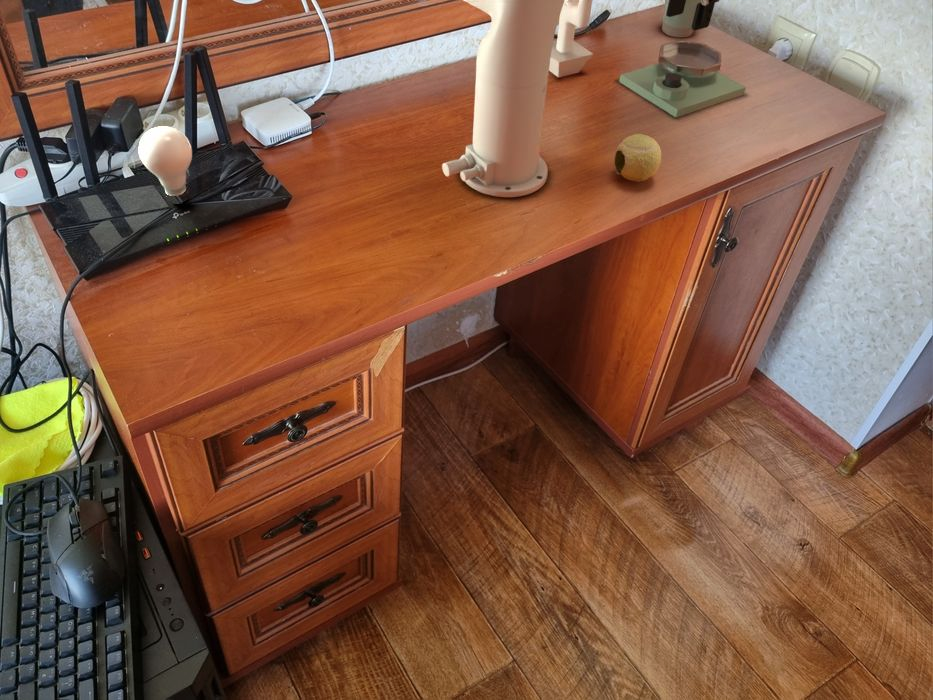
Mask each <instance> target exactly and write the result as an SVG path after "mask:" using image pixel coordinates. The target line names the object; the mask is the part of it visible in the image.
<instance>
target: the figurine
mask: <svg viewBox="0 0 933 700" xmlns="http://www.w3.org/2000/svg"><path fill="white" fill-rule="evenodd" d="M592 5H593V0H565V1H564V4H563V7H562V10H561V13H560V16H559V20H558V23H557V26H556V27H558V29H557V30H558V31H557V39H556V40H553V45H552V51H551V58H550V65H549V73H552V74H553V75H554V76H556V77H557V78H562V77H566V76H570V75H575V74H579V73H580V72H581V70H582V69H583V68H584V66H585V65H586V64H587V63H588V62H589V60H590V59H591V58H592V56H593V55H594V53H593V52H591V51H589V49H586V48H585V46H583V45H581V44H579V43H578V42H577V41H575V40H574V39H575V32H576V27H577V28H578V29H583V28H584V29H585V28H586V27H587V26H588V24H589V22H590V18H591V13H592Z"/></svg>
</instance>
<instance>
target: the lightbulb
mask: <svg viewBox="0 0 933 700" xmlns="http://www.w3.org/2000/svg"><path fill="white" fill-rule="evenodd" d="M138 155H139V159H140V160H141V163H142V164H143V165H144V167H145V168H146V169H147V170H148V171H149V172H150V173H152V174H153V175H154V176H155V177H156V178H157V179H158V181H159V182H160V185H161V186H162V187H163V189H164V191H165V194H167V195H169V196H179V195H182V194H183V193H184V192H185V191H186V189H187V186H186V181H187V171H188V169H189V168H190V165H191V163H192V159H193V149H192V145H191V143H190V140H189V139H188V137H187V136H186V135H185V134H184V133H183V132H181V131H180V130H179V129H177V128H175V127H172V126H168V125H160V126H159V125H158V126H155V127H152V128H150V129H149V130H147V131H146V132H145V133H144V134H143V135H142V137H141V139H140V140H139V144H138Z"/></svg>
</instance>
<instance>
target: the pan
mask: <svg viewBox="0 0 933 700" xmlns="http://www.w3.org/2000/svg"><path fill="white" fill-rule="evenodd" d="M658 63H659V64H660V66H661V67H662V68H664V69H665V70H666V71H668V72H670V73H675V74H678V75H680V76H683V77H689V78H704V77H709V76H712V75H714V74H715V73H716V72H717V71H718V72H719V71H720V70H721V67H722V52H720V51H718V50H717V49H714V48H713V47H711V46H709V45H708V44H706V43H703V42H697V41H689V40H681V39H680V40H674V41H670V42H667V43H664V44H661V45H660V48H659V55H658Z"/></svg>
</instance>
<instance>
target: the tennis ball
mask: <svg viewBox="0 0 933 700" xmlns="http://www.w3.org/2000/svg"><path fill="white" fill-rule="evenodd" d="M613 161H614V166H615V170H616V174H617V175H621V176H622V178H624V179H626V180H628V181H631V182H637V183H640V182H643V181H647V180H648V179H650V178H652V177H653V176H654V175H656V173H657V171H658V170H659V168H660V165H661V162H662V150H661V147H660V145H659V143H658V142H657V141H656V140H655V139H654V138H653V137H651V136H649V135H647V134H643V133H633V134H632V135H629V136H627V137H626V138H624V139H623V140H622V141H620V143H619V145H618V146H617V147H616V149H615V152H614V160H613Z"/></svg>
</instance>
